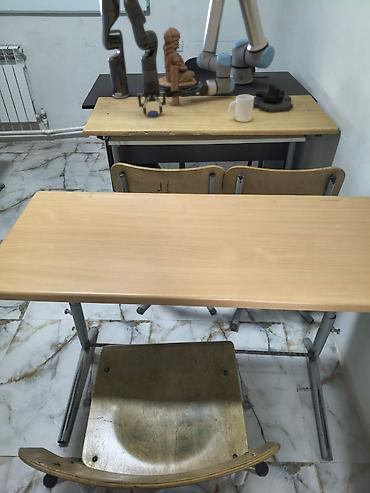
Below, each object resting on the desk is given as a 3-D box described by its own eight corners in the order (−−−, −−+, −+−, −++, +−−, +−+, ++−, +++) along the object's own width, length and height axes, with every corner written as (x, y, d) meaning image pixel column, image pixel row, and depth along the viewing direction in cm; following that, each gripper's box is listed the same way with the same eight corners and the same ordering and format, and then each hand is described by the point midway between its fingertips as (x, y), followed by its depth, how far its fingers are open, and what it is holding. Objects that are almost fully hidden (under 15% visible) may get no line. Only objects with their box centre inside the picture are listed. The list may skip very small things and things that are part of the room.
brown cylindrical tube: (171, 103, 195) (169, 65, 183) (178, 102, 195) (177, 64, 183) (172, 105, 192) (170, 67, 180) (179, 105, 192) (178, 66, 180)
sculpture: (197, 88, 213) (196, 30, 194) (156, 89, 214) (152, 31, 194) (196, 75, 234) (196, 22, 215) (159, 76, 235) (156, 23, 215)
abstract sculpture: (255, 94, 173) (243, 83, 188) (253, 113, 179) (242, 100, 194) (304, 90, 176) (288, 79, 191) (301, 109, 182) (286, 97, 197)
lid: (160, 114, 182) (159, 111, 181) (155, 118, 179) (154, 114, 178) (151, 113, 184) (151, 109, 183) (146, 116, 181) (146, 113, 179)
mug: (229, 123, 170) (230, 101, 163) (225, 117, 176) (226, 95, 170) (254, 121, 171) (256, 99, 164) (249, 115, 177) (251, 93, 171)
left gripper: (135, 82, 167) (139, 118, 177) (166, 80, 168) (168, 115, 179) (134, 78, 172) (138, 112, 183) (164, 76, 174) (166, 110, 184)
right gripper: (212, 100, 190) (170, 106, 184) (200, 90, 202) (161, 96, 197) (212, 85, 185) (169, 90, 180) (200, 76, 198) (160, 81, 192)
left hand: (153, 114), depth 181 cm, fingers open, 7 cm apart
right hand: (165, 93), depth 188 cm, fingers closed on brown cylindrical tube, 4 cm apart
